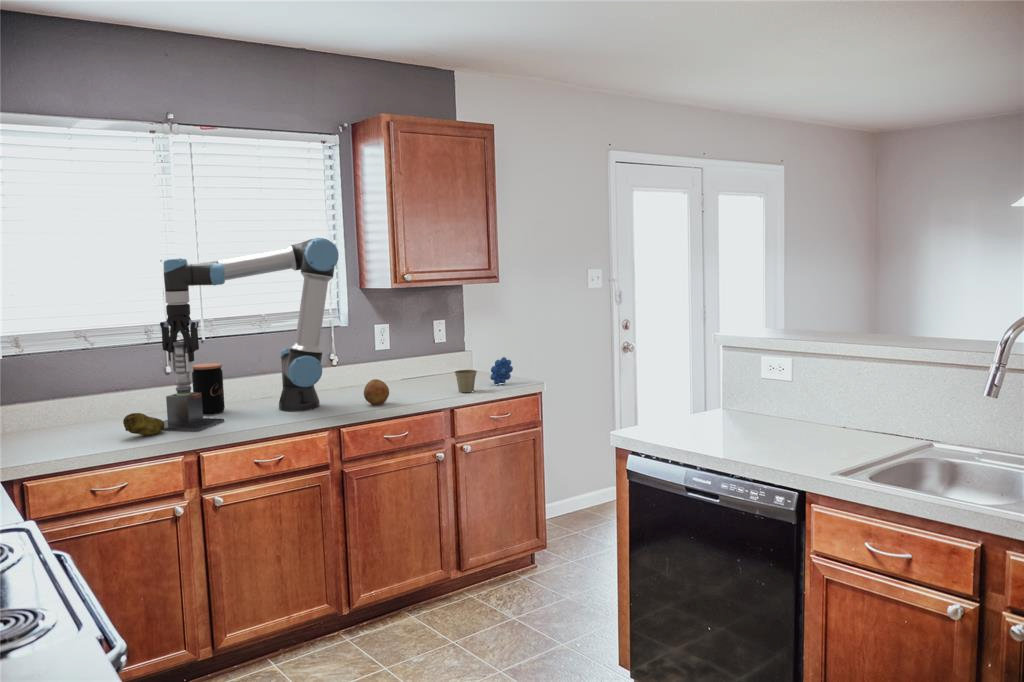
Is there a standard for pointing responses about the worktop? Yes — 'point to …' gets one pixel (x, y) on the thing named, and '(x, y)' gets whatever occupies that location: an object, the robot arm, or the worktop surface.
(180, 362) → the column
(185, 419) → the stand
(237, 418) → the worktop surface
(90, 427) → the worktop surface
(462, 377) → the flower pot
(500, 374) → the grapes
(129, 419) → the potato
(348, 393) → the worktop surface
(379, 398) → the brown ball
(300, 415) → the worktop surface
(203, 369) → the coffee jar
